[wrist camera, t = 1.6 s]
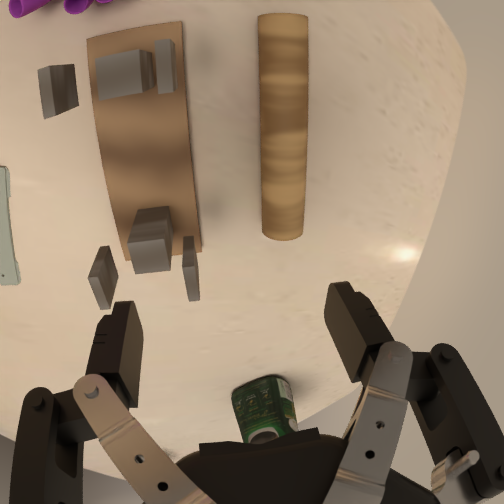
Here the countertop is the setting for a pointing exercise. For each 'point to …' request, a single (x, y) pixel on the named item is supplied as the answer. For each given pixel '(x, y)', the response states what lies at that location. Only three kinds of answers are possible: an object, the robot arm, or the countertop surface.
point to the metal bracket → (6, 235)
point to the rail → (283, 122)
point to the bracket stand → (138, 149)
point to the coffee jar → (264, 410)
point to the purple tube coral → (25, 3)
